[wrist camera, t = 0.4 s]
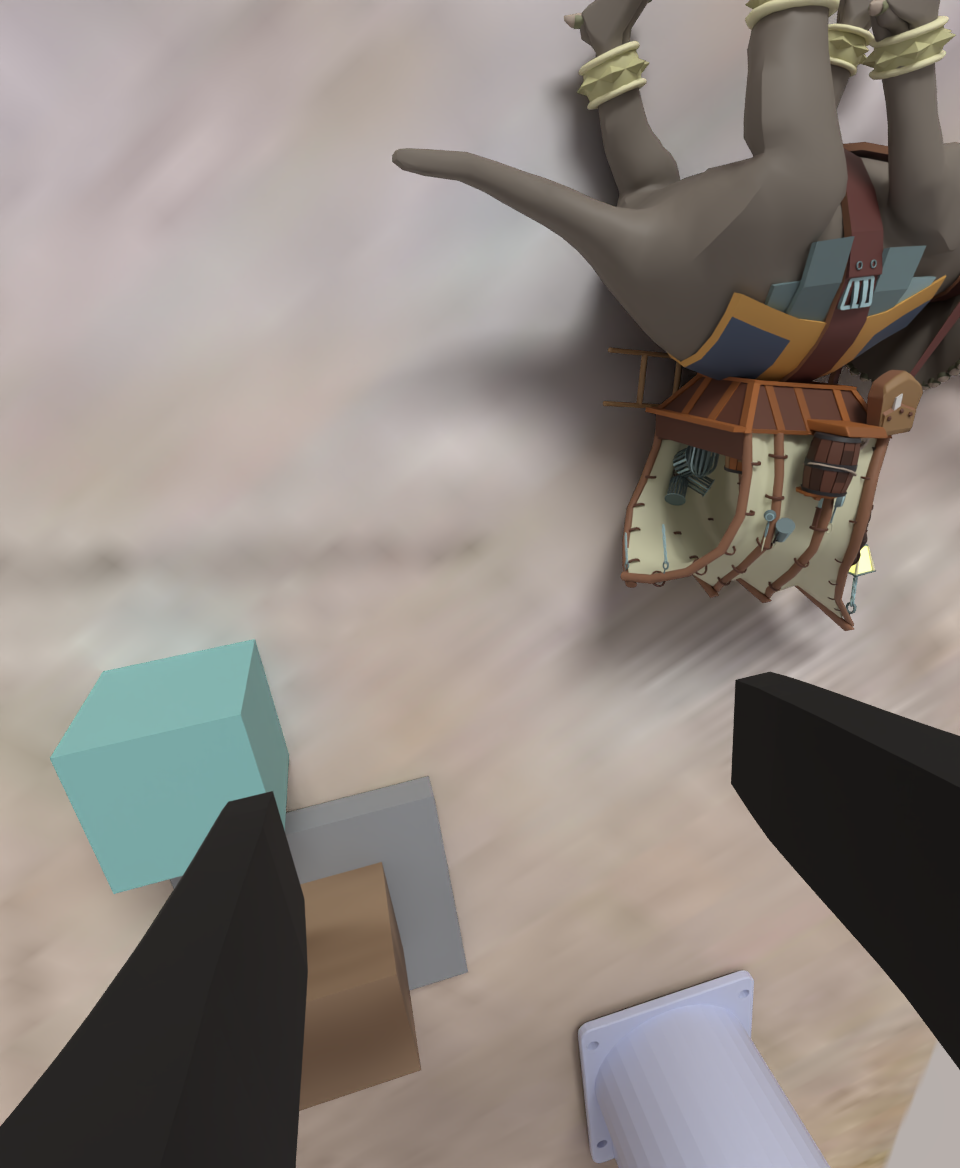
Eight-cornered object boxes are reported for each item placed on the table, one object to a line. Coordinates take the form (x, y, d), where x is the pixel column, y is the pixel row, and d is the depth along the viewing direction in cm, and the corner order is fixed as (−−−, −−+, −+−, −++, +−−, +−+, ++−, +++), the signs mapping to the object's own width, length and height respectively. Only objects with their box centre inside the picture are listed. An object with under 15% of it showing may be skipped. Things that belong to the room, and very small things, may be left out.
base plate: (462, 948, 24) (467, 972, 23) (241, 1015, 23) (238, 1044, 22) (428, 775, 21) (433, 795, 20) (171, 842, 20) (164, 866, 19)
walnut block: (403, 949, 22) (421, 1069, 19) (284, 985, 22) (278, 1117, 18) (382, 861, 21) (396, 974, 17) (253, 897, 20) (239, 1022, 16)
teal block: (289, 753, 20) (283, 848, 16) (151, 787, 19) (113, 894, 16) (255, 638, 18) (240, 714, 15) (103, 670, 18) (49, 758, 14)
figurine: (1383, -128, 13) (1132, 632, 19) (1052, 6, 18) (944, 565, 25) (379, -209, 8) (498, 827, 15) (333, 3, 14) (435, 693, 20)
